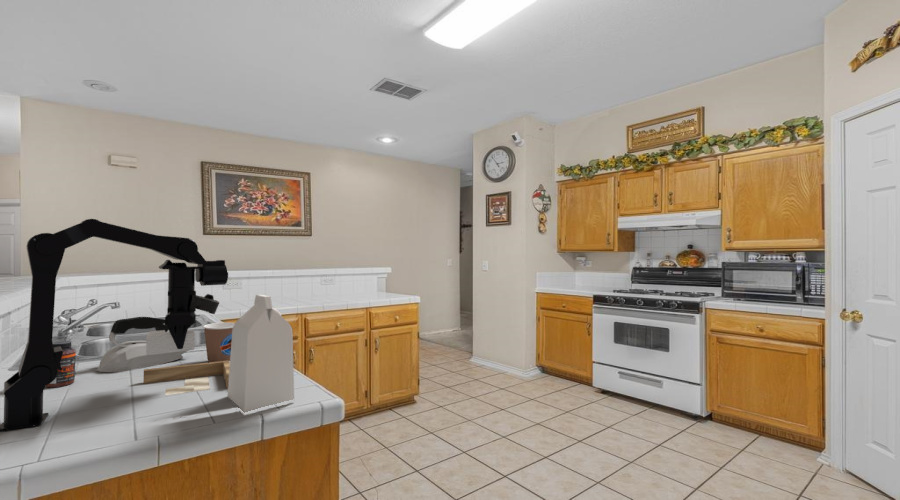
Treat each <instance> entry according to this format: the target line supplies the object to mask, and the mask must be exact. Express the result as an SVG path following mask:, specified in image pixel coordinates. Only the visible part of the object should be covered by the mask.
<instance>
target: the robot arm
mask: <svg viewBox="0 0 900 500" xmlns="http://www.w3.org/2000/svg"><path fill="white" fill-rule="evenodd" d="M91 238H97V239H103V240H106V241H111V242H116V243H119V244H125V245H130V246H134V247H139V248H143V249H147V250H151V251H153V252H154V253H157V254H159V255H163V256H166V257H168V258H170V259H173V260H176V261H184V262H172V261H171V260H170V259H166V260H165V261H164V262H163V263H162V264H161V265H159V266H158V268H159V269H160V270H168V274H167V275H168V280H167V282H168V283H167V285H168V286H167V309H166V310H167V311H166V312H167V313H166V315H165V317H164V319H165V325H166V326H167V328H168V332H170V334H171V336H172V338H173V340H174V342H175V344H176V346H177V349H183V346H184V342H185V338H186V334H187V331H189V328H190V327H191V326H193V325H194V324H197V323H196V321H197V318H196V316H197V315H196V312H197V311H196V310H199V311H201V312H202V311H203V312H206V313H209V314H211V315H215V314H216V312H217V310H218V307H219V304H220V301H218V300H215V298H214V295H213V294H210V293H207V294H205V295H204V296H202V295H197V290H195V282H197V283H199V284H200V286H202V287H204V286H205V287H206V286H225V285H227V284H228V281H229V280H228V279H229V272H228V268H227V265H226V260H225V259H224V260H223V259H217V260H205V258H204V256H203V255H202V254H201V253H200V252H199V251H198V250H199V248H198V245H197V242H196V241H195V240H194V239H191V238H189V237H180V236H179V237H178V236H170V235H169V236H168V235H167V236H166V235H156V234H154V233H148V232H146V231H145V232H144V231H140V230H136V229H133V228H129V227H128V228H127V227H124V226H120V225H115V224H113V223H107V222H103V221H101V220H99V219H95V218H87V219H85V220H84V219H83V220H82V221H81V222H80V223H78V224H74V225H72V226H70V227H68V228H65V229H62V230H59V231H57V232H54V233H50V232H43V233H38V234H36V235H34V236H31V237H30V238H29V239H28V241H27V242H26V252H27V253H26V254H27V257H28V262H29V263H28V264H29V267H30V273H31V291H30V305H29V306H30V307H29V319H28V320H29V321H28V337H27V338H28V339H27V343H26V344H25V345H26V346H25V348H24V351H23V354H22V356H21V357H22V358H21V360H20V364H19V367H18V371H17V372H16V373H14V374H13V375H12V376H11V377H9V378H8V379H7V380H5V381H4V382H3V383H4V384H3V387H4V388H3V394H4V396H3V399H4V400H3V422H2V423H1V424H0V432H4V431H5V432H6V431H11V430H17V429H23V428H30V427H39V426H41V425H42V424H43V423H44V422H45V420H46V419H47V418H48V416H49V412H44V391H45V388H46V385H48V384H50V383H51V382H52V381H53V380H55V378H56V377H57V374H58V370H62V367H61V364H60V362H61V358H62V354H63V350H62V348H61V347H60V346H59V347H55V348H53V333H54V331H53V330H54V315H55V299H56V282H57V275H58V272H59V269H60V267H61V264H62V261H63V258H64V254H65V252H66V249H67V248H71V247H72V246H73V247H74V246H75V245H77V244H79V243H82V242H84V241H85V240H86V241H87V240H88V239H91ZM187 263H188V264H193V265H194V266H188V264H187ZM195 265H197V266H195Z"/></svg>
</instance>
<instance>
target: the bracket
mask: <svg viewBox="0 0 900 500" xmlns="http://www.w3.org/2000/svg"><path fill="white" fill-rule="evenodd" d="M145 341H146V355H153V354H162V353H171V352H179V351H188V350H190V351H194V350H195V330H194V329H193V330H192V329H188V330H187V334H186V338H185V342H184V346H183V349H177V346H176V344H175V342H174V340H173V338H172V336H171V334H170V332H169V331H167V333H165V330H161V331H156V330H152V331H147V335H146V337H145ZM188 352H189V351H188Z"/></svg>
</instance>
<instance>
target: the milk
mask: <svg viewBox="0 0 900 500" xmlns="http://www.w3.org/2000/svg"><path fill="white" fill-rule="evenodd" d="M271 298H272V297H271V296H269V295H265V294H261V293H260V294H255V297H254V301H253V306H252V307H250V308H249V309H248V310H247V311H246V312H245V313H243V314H242V315H241V316H240V317H239V318H238V319H237V320H236V322H234V323H235V324H234V326H233V330H232V343H231V356H230V369H229V383H228V389H227V395H226V396H227V398H228V399H230V400H231V401H232V402H234V404H236V405H237V407H238V408H240V409H241V410H242V411H243V412H244V413H245V412H248V411H251V410H255V409H258V408H261V407H265V406H269V405H273V404H277V403H281V402H284V401H289V400H293V399H294V400H295V382H294V381H295V379H294V376H295V375H294V343H293V342H294V340H293V339H294V338H293V334H294V333H293V328H292V325H291V324H290V322H289V321H287V320H286V319H285V318H284V317H283V316H282V315H283V314H282V312H280V311H279V310H278V309H276V308H275V307H273V304H272V299H271Z"/></svg>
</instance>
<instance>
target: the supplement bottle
mask: <svg viewBox="0 0 900 500" xmlns="http://www.w3.org/2000/svg"><path fill="white" fill-rule="evenodd" d="M52 343H53V348H55V347H59V346H60V347H61V348H62V350H63V354H62V358H61V362H60V364H61V367H62V370H58V374H57V377H56V378H55V380H53V381H52V382H51V383H50V384H48V385H46V386H45V388H59V387H60V388H61V387H66V386H70V385H72V384H73V383H75V381H76V380H75V379H76V378H75V377H76V357H77V355H76V354H77V353H76V350H75V349H74V348H72V341H71V340H60V341H52Z"/></svg>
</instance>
